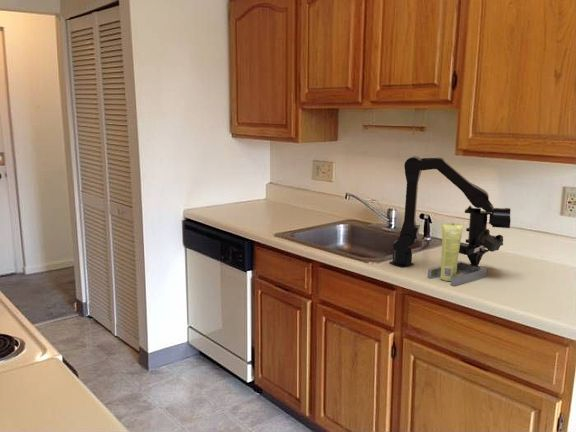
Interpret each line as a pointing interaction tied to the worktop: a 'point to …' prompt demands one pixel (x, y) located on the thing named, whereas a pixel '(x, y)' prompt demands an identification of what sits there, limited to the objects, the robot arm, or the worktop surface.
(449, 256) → the tube
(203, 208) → the worktop surface
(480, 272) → the u collar
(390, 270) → the worktop surface
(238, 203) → the worktop surface
